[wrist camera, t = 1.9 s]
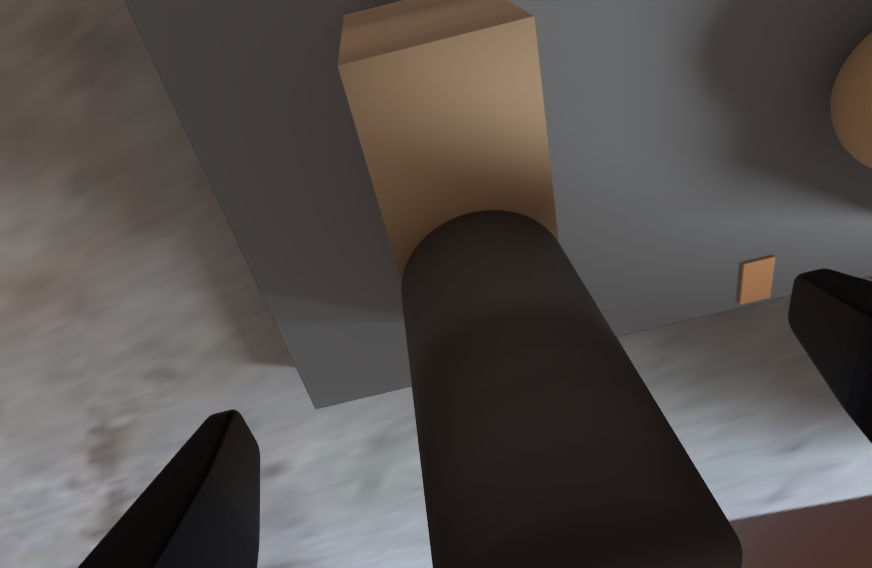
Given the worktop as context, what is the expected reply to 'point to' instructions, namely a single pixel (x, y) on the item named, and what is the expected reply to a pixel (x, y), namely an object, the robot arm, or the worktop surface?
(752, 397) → the worktop surface
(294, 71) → the cracker base
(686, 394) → the worktop surface
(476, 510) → the lever handle
